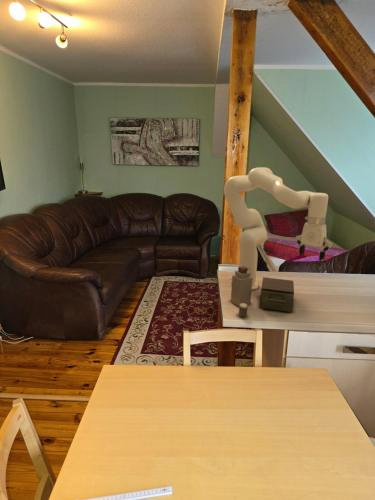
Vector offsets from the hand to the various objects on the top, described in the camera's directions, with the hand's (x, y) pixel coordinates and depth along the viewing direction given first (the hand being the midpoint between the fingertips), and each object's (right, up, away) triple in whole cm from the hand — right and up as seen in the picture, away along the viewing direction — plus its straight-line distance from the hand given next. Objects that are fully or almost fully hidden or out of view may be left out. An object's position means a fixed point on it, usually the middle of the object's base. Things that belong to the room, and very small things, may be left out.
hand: (311, 257), depth 154 cm
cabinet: (-14, -23, +8) cm, 28 cm away
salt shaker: (-33, -26, -6) cm, 42 cm away
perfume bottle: (-32, -22, +8) cm, 40 cm away
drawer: (-16, -23, +3) cm, 28 cm away
